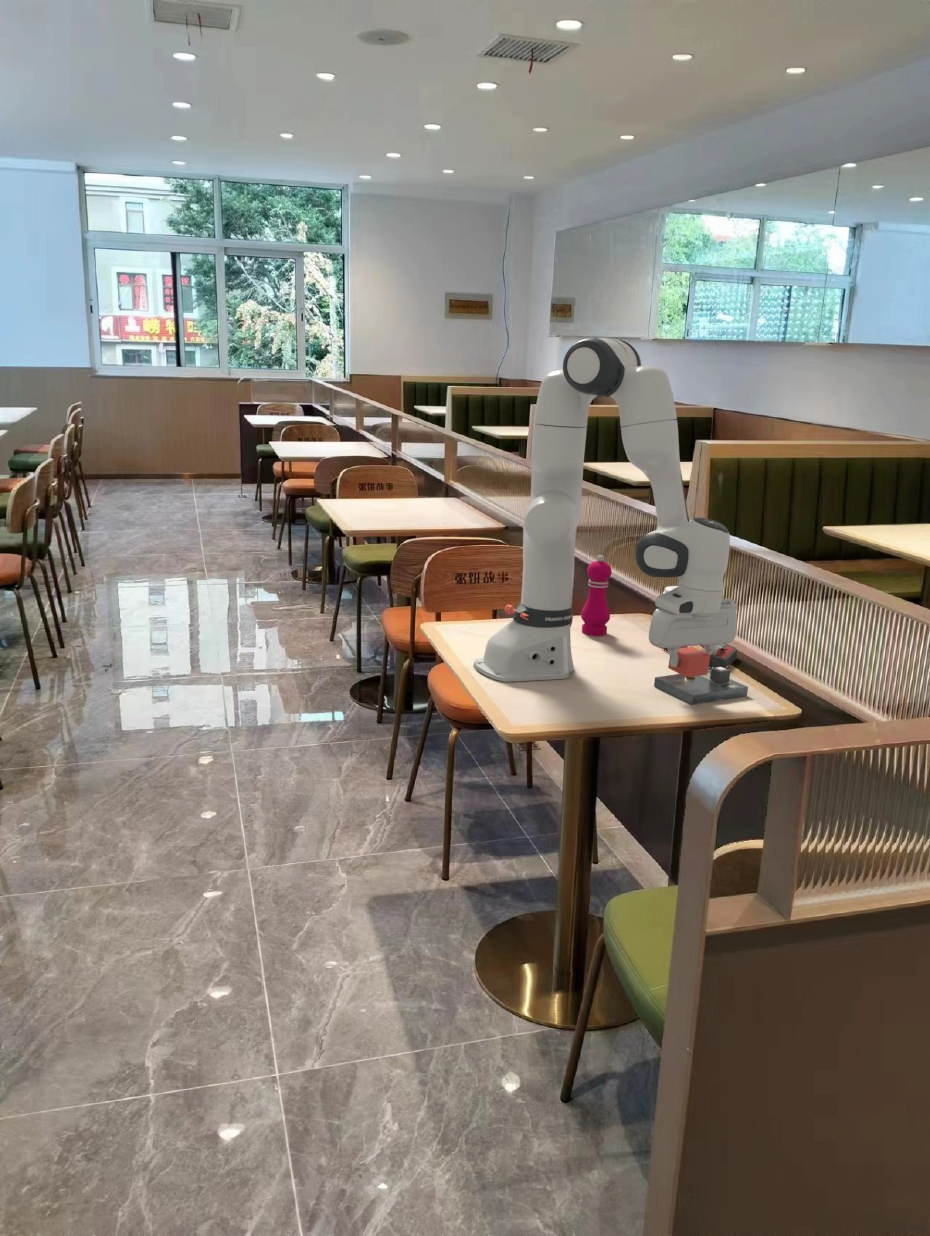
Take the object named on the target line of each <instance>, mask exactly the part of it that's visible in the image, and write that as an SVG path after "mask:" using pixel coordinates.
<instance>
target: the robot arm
mask: <svg viewBox="0 0 930 1236" xmlns="http://www.w3.org/2000/svg"><path fill="white" fill-rule="evenodd" d="M596 397H597V398H604V397H605V398H609V397H611V398H612V399H613V401H614V402H615V403H616V405H617V408H618V411H619V412H618V413H619V414H618V415H619V419H620V420H619V422H620V423H619V424H620V430H621V431H620V433H621V439H622V444H623V448H624V451H625V454H626V457H627V460H628V461H629V462H630V463H631V464H632V465H633V466H634V467H635V468H637V469H638V470H640V472H642V474H644V475H645V476H646V477H647V480H648V481H649V483H650V485H651V489H652V494H653V501H654V506H655V513H656V518H657V519H656V521H657V527H656V529H655V530H653V531H650V532H649V533H646V534H645V535H643V536H642V537H641V538H640V539H639V540H638V542H637V544H636V547H635V549H634V558H635V562H636V565H637V566H638V568H639V569H640V571H641V572H642V573H643V574H645V575H646V576H649V577H652V578H658V579H660V578H661V579H662V578H677V579H678V585H677V586H678V587H677V588H674V589H673V590H671V591H669V592H666V593H664V594H663V593H662V594H660V595H658V596H656V597H655V603H654V605H655V606H656V607H657V608H656V609H655V610H654V611H653V614H652V617H651V619H650V620H651V621H650V626H649V631H648V640H649V642H650V645H652V646H654V647H656V648H658V649H662V648H667V650H668V652H667V653H668V655H669V659H670V657H671V659H670V666H672V667H680V666H681V662H682V659H680V658H678V654H677V652H679V650H680V647H685V646H688V647H696V646H702V652H704V653H707V654H709V655H711V653H712V652H713V650H714V648H715V644H731V643H733V641H734V640H735V638H736V634H737V623H738V622H737V620H738V618H737V608H738V604H737V603H736V601H735V600H734V599H733V598H730V597H728V598H727V597H726V598H723V594H724V588H725V587H724V586H725V585H724V577H725V576H724V575H725V573H726V572H727V569H728V564H729V557H730V544H731V539H730V537H731V536H730V532H729V530H728V528H727V527H726V526H725V525H724V524H723V523H721V522H718V521H717V520H713V519H711V518H707V517H706V518H705V517H694V518H692V519H690V517H689V513H688V512H689V511H688V505H687V501H686V494H685V487H684V480H683V473H682V469H681V459H680V458H681V457H680V443H679V427H678V426H679V425H678V420H677V419H678V417H677V409H676V402H675V398H674V393H673V389H672V387H671V383H670V380H669V377H668V374H667V372H665V371H664V370H663V369H662V368H660V367H658V366H653V365H642V361H641V357H640V354H639V353H638V351H637V350H636V348H635V347H634V346H633V345H632V344H630V343H629V342H627V341H624V340H622V339H616V338H614V337H613V338H612V337H607V336H605V337H588V338H583V339H581V340H578V341H577V342H575V343H573V345H572V346H570V347H569V348H568V350H567V351H566V353H565V356H564V358H563V362H562V369H558V370H557V369H556V370H554V371H551V372H550V373H547V374H546V375H545V376H544V377H543V379H542V381H541V384H540V388H539V391H538V394H537V399H536V404H535V411H534V421H533V431H532V441H531V442H532V443H531V446H532V447H531V458H530V465H531V467H530V469H531V470H530V471H531V475H530V479H531V481H530V502H529V504H528V506H527V508H525V511H524V515H523V524H522V525H523V526H522V527H523V529H522V562H523V563H522V564H523V565H522V582H521V583H522V585H521V596H520V597H521V599H520V602H519V603H518V605H517V607H516V606H513V605H512V604H506V605H505V606H504V612H505V614H509V615H511V616H512V620H511V621H509V623H507V624H506V625H504V627H502V628H501V629H500V630H499V631H497V632H496V633H495V634H494V635H492V636H491V637H490V638H489V639H488V640H487V642H486V645H485V651H484V653H483V657H479V658H475V659H474V660H473V667H474V668H475V669H476V671H477V672H479V673H480V674H482V675H484V676H486V677H488V678H491V679H493V680H496V681H500V682H506V683H508V682H509V683H510V682H527V681H542V680H544V681H546V680H547V681H548V680H560V679H561V680H562V679H568V678H569V677H570V674H571V672H573V671H574V669H575V665H574V660H573V655H572V644H571V627H572V623H573V618H574V606H573V605H572V603H573V593H574V592H573V590H574V578H575V555H576V537H577V536H576V535H577V527H578V523H579V522H580V518H581V511H582V510H581V508H582V495H583V478H584V477H583V476H584V461H585V451H586V440H587V430H588V418H589V409H590V406H591V403H592V401H593V400H594V399H595V398H596Z"/></svg>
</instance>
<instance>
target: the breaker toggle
mask: <svg viewBox="0 0 930 1236" xmlns="http://www.w3.org/2000/svg"><path fill="white" fill-rule="evenodd" d="M710 668H711V667H710ZM710 670H711V674H710V680H713V681H715V682H717V683H725V682H729V679H731V670H730V669H728V668H723V667H716V668H711V669H710Z"/></svg>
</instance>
